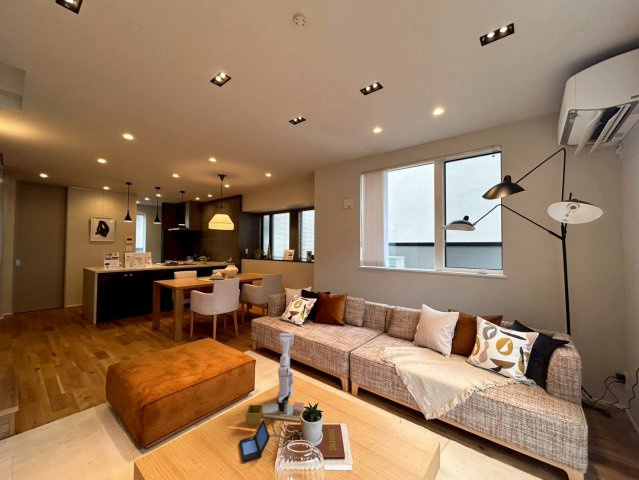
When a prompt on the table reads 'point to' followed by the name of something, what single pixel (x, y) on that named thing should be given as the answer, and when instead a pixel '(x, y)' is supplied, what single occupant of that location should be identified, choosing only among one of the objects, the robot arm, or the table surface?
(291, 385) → the robot arm
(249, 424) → the flower pot
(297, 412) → the terracotta tin
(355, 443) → the table surface
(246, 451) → the handheld game console
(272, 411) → the shelf
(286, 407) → the sage tin
